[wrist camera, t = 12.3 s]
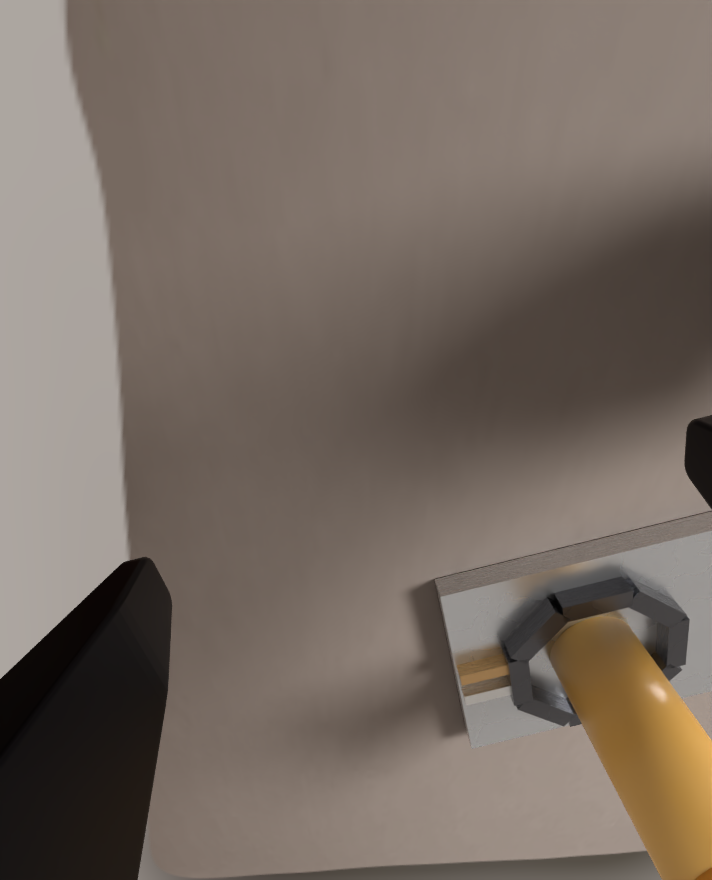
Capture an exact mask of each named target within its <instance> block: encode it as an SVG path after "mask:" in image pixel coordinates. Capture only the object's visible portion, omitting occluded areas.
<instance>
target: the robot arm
mask: <svg viewBox="0 0 712 880" xmlns="http://www.w3.org/2000/svg"><path fill="white" fill-rule="evenodd" d="M684 462H685V470H686V473H687V475H688V477H689V479H690V480H691V481H692V483H693V484H694V486H695V487H696V488H697V490H698V491H699V492H700V494H701V495H702V497H703V498H704V499H705V501H706V502H707V503H708V505H709V506H710V508H711V509H712V415H710V416H706V417H702V418H698V419H694V420H692V421H691V422H690V423H689V424H688V427H687V432H686V447H685V461H684ZM171 617H172V601H171V596H170V593H169V591H168V589H167V587H166V585H165V583H164V581H163V579H162V577H161V575H160V574H159V572H158V570H157V568H156V566H155V564H154V563H153V561H152V560H151V559H150V558H147V557H142V558H138V559H134V560H130V561H126V562H124V563H122V564H121V565H120V566H119V567H118V568H117V569H116V570H114V571H113V573H111V574H110V575H109V576H108V577H107V578H106V579H105V580H104V581H103V582H102V583H101V584H100V585H99V586H98V587H97V588H95V590H93V591H92V592H91V593H90V594H89V595H88V596H87V597H86V598H85V599H84V600H83V601H82V602H81V603H80V604H79V605H78V606H77V607H76V608H74V609H73V611H71V612H70V613H69V614H68V615H67V616H66V617H65V618H64V619H63V620H62V621H61V622H60V623H59V624H58V625H57V626H56V627H55V628H53V629H52V630H51V631H50V632H49V633H48V634H47V635H46V636H45V637H44V638H43V639H42V640H41V641H40V642H39V643H38V644H37V645H36V646H35V647H34V648H32V649H31V650H30V652H28V653H27V654H26V655H25V656H24V657H23V658H22V659H21V660H20V661H19V662H18V663H17V664H16V665H15V666H14V667H13V668H12V669H10V670H9V671H8V672H7V673H6V674H5V675H4V676H3V677H2V678H1V679H0V880H138V873H139V867H140V861H141V854H142V849H143V843H144V837H145V831H146V825H147V818H148V812H149V806H150V800H151V794H152V788H153V781H154V775H155V769H156V763H157V757H158V750H159V744H160V738H161V732H162V726H163V720H164V713H165V707H166V700H167V693H168V681H169V661H170V639H171Z"/></svg>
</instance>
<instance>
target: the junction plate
mask: <svg viewBox="0 0 712 880" xmlns="http://www.w3.org/2000/svg"><path fill="white" fill-rule="evenodd" d="M435 584H436V589H437V594H438V599H439V603H440V608H441V613H442V618H443V622H444V627H445V632H446V637H447V641H448V646H449V651H450V656H451V660H452V665H453V670H454V675H455V680H456V684H457V689H458V694H459V699H460V703H461V708H462V713H463V718H464V722H465V727H466V731H467V735H468V738H469V741H470V745H471V748H472V749H473V748H477V747H481V746H485V745H489V744H494V743H498V742H502V741H506V740H510V739H514V738H519V737H523V736H527V735H531V734H535V733H539V732H544V731H548V730H552V729H556V728H560V727H564V726H569V725H570V727H571V726H575V725H579V724H582V723H581V721H580V719H579V717H578V715H577V713H576V711H575V709H574V708H573V706H572V704H571V702H570V700H569V698H568V696H567V694H566V692H565V690H564V688H563V686H562V684H561V682H560V680H559V678H558V676H557V675H556V673H555V671H554V669H553V667H552V665H551V662H550V653H551V649H552V646H553V645H554V643H555V641H556V640H557V638H558V637H559V636H560V635H561V634H562V633H563V632H564V631H565V630H567V629H568V628H570V627H571V626H573V625H574V624H576V623H579V622H581V621H583V620H586V619H589V618H594V617H601V616H608V617H614V618H618V619H620V620H622V621H624V622H626V623H627V624H628V625H629V627H630V628H631V629H632V631H633V632H634V633H635V635H636V636H637V638H638V639H639V640H640V642H641V643H642V645H643V646H644V647H645V649H646V650H647V651H648V653H649V654H650V656H651V657H652V658H653V660H654V661H655V663H656V664H657V665H658V667H659V668H660V670H661V671H662V672H663V674H664V675H665V677H666V678H667V679H668V681H669V682H670V683H671V685H672V686H673V688H674V689H675V690H676V692H677V693H678V695H679V696H680V697H681V698H685V697H689V696H693V695H697V694H702V693H706V692H710V691H712V511H711V512H707V513H703V514H699V515H695V516H691V517H687V518H682V519H678V520H674V521H670V522H666V523H662V524H658V525H654V526H650V527H646V528H642V529H638V530H634V531H629V532H625V533H621V534H617V535H613V536H609V537H605V538H601V539H597V540H593V541H589V542H585V543H581V544H577V545H572V546H568V547H564V548H560V549H556V550H552V551H548V552H544V553H540V554H536V555H532V556H528V557H524V558H520V559H515V560H511V561H507V562H503V563H499V564H495V565H491V566H487V567H483V568H479V569H475V570H471V571H467V572H462V573H458V574H454V575H450V576H446V577H442V578H438V579H435Z"/></svg>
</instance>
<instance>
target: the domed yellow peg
mask: <svg viewBox="0 0 712 880" xmlns="http://www.w3.org/2000/svg"><path fill="white" fill-rule="evenodd" d="M550 662H551V665H552V667H553V669H554V671H555V673H556V675H557V676H558V678H559V680H560V682H561V684H562V686H563V688H564V690H565V692H566V694H567V696H568V698H569V700H570V702H571V704H572V706H573V708H574V709H575V711H576V713H577V715H578V717H579V719H580V721H581V723H582V725H583V727H584V729H585V731H586V733H587V735H588V737H589V739H590V741H591V743H592V744H593V746H594V748H595V750H596V752H597V754H598V756H599V758H600V760H601V762H602V764H603V766H604V768H605V770H606V772H607V774H608V776H609V777H610V779H611V781H612V783H613V785H614V787H615V789H616V791H617V793H618V795H619V797H620V799H621V801H622V803H623V805H624V807H625V809H626V811H627V812H628V814H629V816H630V818H631V820H632V822H633V824H634V826H635V828H636V830H637V832H638V834H639V836H640V838H641V840H642V842H643V844H644V845H645V847H646V849H647V851H648V853H649V855H650V857H651V859H652V861H653V863H654V865H655V867H656V869H657V871H658V873H659V875H660V877H661V878H662V880H712V740H711V739H710V738H709V736H708V735H707V734H706V732H705V731H704V729H703V728H702V727H701V725H700V724H699V722H698V721H697V720H696V718H695V717H694V715H693V714H692V713H691V711H690V710H689V708H688V707H687V706H686V704H685V703H684V702H683V700H682V699H681V697H680V696H679V695H678V693H677V692H676V690H675V689H674V688H673V686H672V685H671V683H670V682H669V681H668V679H667V678H666V677H665V675H664V674H663V672H662V671H661V670H660V668H659V667H658V665H657V664H656V663H655V661H654V660H653V658H652V657H651V656H650V654H649V653H648V651H647V650H646V649H645V647H644V646H643V645H642V643H641V642H640V640H639V639H638V638H637V636H636V635H635V633H634V632H633V631H632V629H631V628H630V627H629V625H628V624H627V623H626V622H624V621H622V620H620V619H618V618H614V617H608V616H601V617H594V618H589V619H586V620H583V621H581V622H579V623H576V624H574V625H573V626H571V627H570V628H568V629H567V630H565V631H564V632H563V633H562V634H561V635H560V636H559V637H558V638H557V640H556V641H555V643H554V645H553V646H552V649H551V653H550Z"/></svg>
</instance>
